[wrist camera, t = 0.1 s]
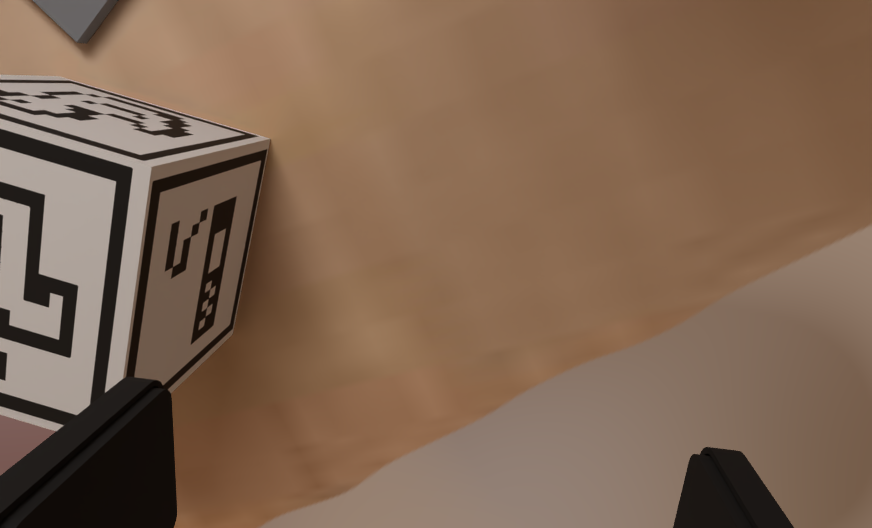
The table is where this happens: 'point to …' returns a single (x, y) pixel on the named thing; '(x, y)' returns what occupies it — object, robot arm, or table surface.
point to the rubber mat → (77, 15)
